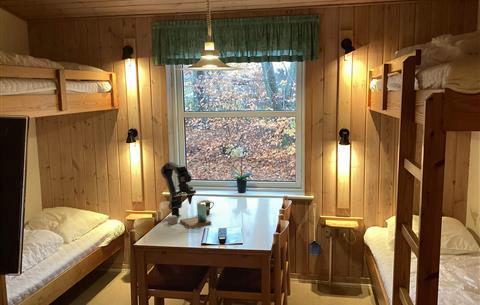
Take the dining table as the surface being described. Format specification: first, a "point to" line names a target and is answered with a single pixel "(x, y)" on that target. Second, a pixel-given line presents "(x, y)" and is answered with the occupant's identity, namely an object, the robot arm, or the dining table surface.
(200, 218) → the teal tin
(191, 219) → the walnut board
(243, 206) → the dining table surface
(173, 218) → the grey block
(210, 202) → the coffee mug
